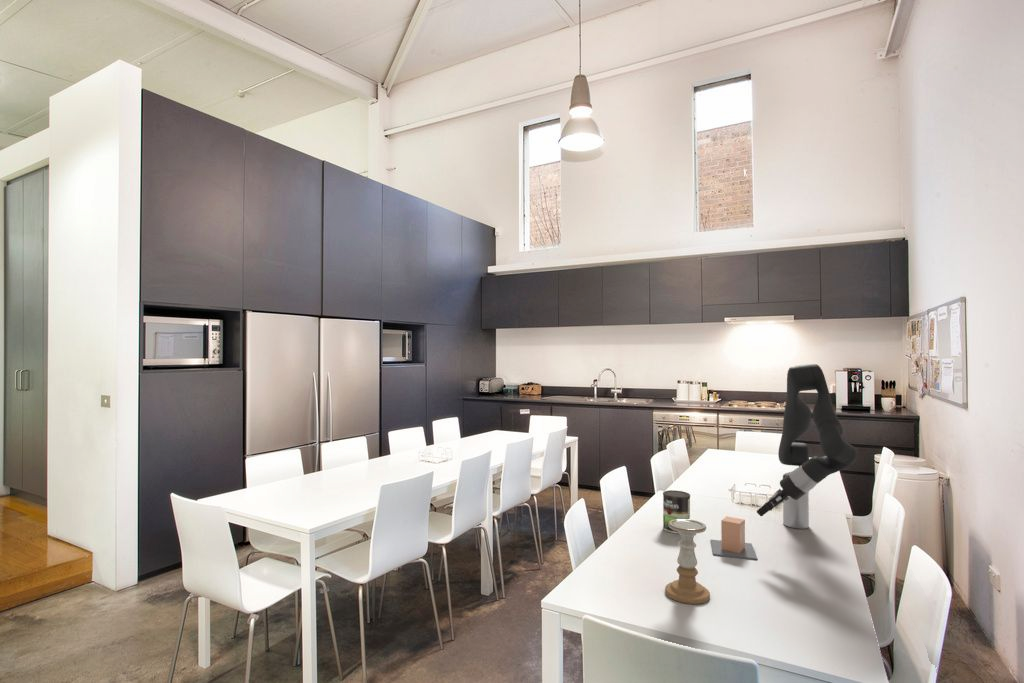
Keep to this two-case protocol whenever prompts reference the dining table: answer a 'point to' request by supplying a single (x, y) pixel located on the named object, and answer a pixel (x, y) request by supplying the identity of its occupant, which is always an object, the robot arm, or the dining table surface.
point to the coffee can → (675, 507)
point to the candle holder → (687, 565)
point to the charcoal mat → (745, 554)
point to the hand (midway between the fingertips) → (762, 510)
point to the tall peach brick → (733, 534)
